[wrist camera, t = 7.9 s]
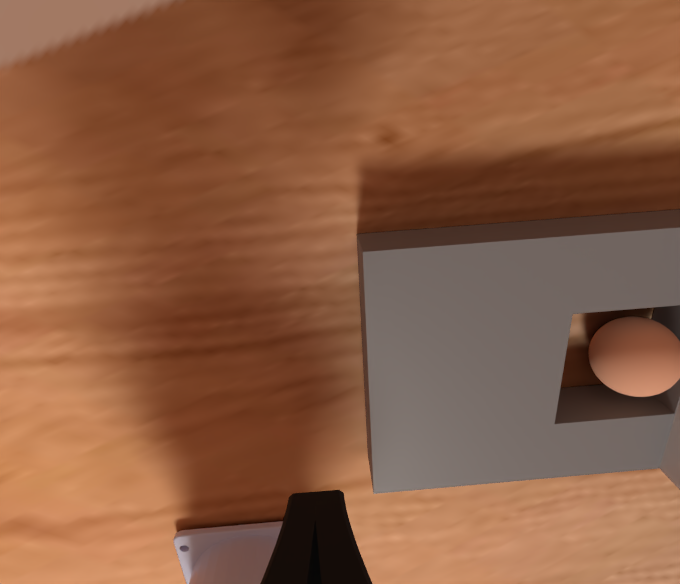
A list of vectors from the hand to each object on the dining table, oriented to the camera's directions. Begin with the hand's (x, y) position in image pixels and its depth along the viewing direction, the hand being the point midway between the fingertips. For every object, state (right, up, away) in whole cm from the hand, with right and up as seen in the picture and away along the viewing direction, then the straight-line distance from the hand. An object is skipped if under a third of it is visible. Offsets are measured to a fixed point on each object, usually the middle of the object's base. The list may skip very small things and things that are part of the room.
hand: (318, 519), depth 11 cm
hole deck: (+9, +4, +9) cm, 13 cm away
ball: (+14, +3, +8) cm, 16 cm away
